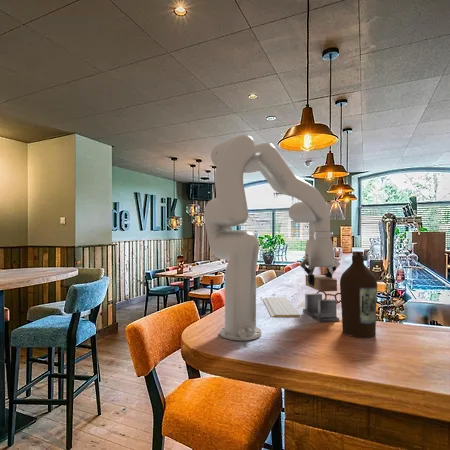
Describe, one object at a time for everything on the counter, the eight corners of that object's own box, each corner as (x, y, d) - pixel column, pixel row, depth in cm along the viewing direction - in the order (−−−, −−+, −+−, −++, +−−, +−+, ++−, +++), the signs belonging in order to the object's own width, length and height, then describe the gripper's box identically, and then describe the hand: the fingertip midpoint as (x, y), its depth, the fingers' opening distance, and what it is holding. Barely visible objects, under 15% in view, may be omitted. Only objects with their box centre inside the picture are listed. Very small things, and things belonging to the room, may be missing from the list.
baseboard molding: (267, 318, 118) (300, 319, 118) (267, 310, 118) (300, 311, 118) (259, 300, 149) (285, 300, 149) (259, 294, 149) (285, 294, 149)
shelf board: (305, 285, 126) (305, 274, 126) (320, 284, 127) (320, 274, 127) (320, 291, 112) (320, 280, 112) (337, 291, 113) (336, 279, 113)
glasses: (346, 304, 140) (346, 293, 140) (334, 310, 130) (334, 297, 130) (317, 300, 148) (317, 289, 148) (304, 305, 138) (304, 294, 138)
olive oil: (333, 330, 102) (332, 251, 102) (357, 326, 106) (356, 250, 107) (359, 340, 92) (358, 253, 93) (385, 335, 97) (384, 252, 97)
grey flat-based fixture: (339, 321, 113) (339, 300, 113) (320, 322, 111) (320, 301, 112) (319, 310, 127) (319, 292, 127) (303, 311, 126) (302, 293, 126)
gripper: (336, 235, 125) (336, 282, 125) (293, 236, 122) (294, 284, 122) (346, 236, 118) (347, 285, 117) (301, 236, 115) (302, 287, 115)
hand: (320, 284), depth 120 cm, fingers closed on shelf board, 6 cm apart
